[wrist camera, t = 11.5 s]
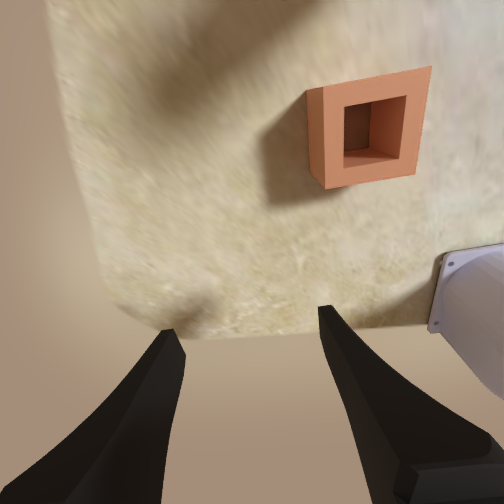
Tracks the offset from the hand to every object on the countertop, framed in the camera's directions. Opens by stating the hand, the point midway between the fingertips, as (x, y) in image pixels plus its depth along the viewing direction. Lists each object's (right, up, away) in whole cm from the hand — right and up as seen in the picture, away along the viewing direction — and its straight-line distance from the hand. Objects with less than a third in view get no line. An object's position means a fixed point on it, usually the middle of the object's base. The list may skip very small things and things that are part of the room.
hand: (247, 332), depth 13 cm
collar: (+6, +12, +4) cm, 14 cm away
